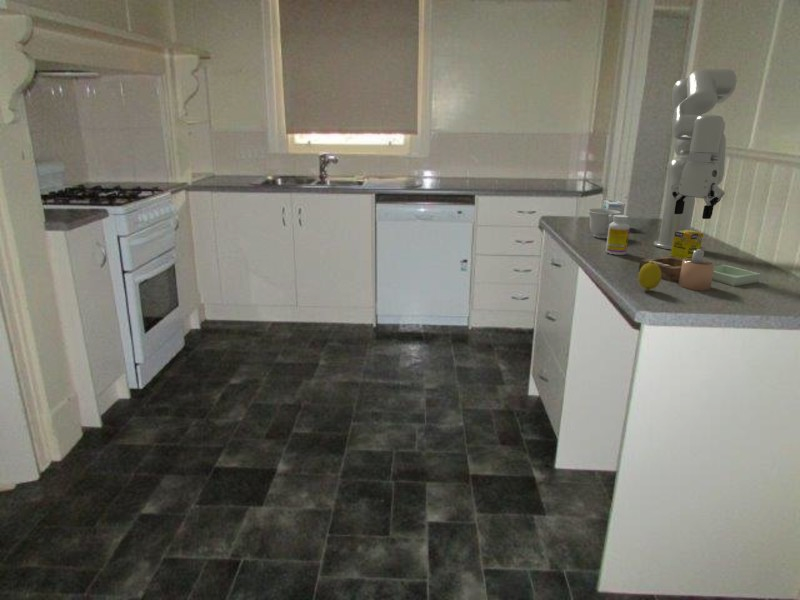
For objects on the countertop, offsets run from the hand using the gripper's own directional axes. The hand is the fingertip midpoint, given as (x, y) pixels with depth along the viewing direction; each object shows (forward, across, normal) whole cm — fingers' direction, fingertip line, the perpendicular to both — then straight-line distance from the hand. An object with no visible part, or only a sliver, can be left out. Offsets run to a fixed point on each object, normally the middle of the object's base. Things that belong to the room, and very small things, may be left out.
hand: (692, 216), depth 174 cm
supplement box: (+16, +1, -1) cm, 16 cm away
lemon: (+17, -14, +32) cm, 39 cm away
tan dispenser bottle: (+16, -16, +16) cm, 28 cm away
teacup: (+15, +44, -10) cm, 47 cm away
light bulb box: (+15, +59, -30) cm, 67 cm away
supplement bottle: (+16, +22, +6) cm, 27 cm away
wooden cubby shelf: (+16, -4, +11) cm, 20 cm away
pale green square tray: (+16, -15, 0) cm, 22 cm away
